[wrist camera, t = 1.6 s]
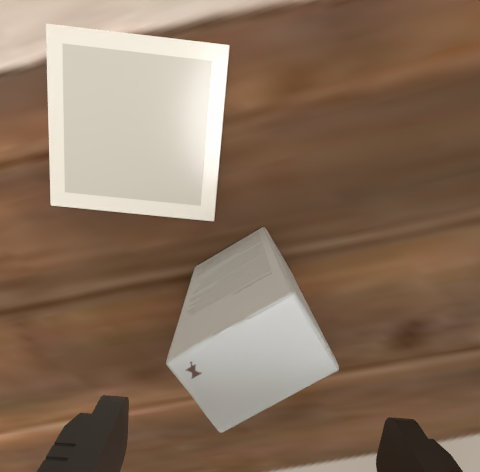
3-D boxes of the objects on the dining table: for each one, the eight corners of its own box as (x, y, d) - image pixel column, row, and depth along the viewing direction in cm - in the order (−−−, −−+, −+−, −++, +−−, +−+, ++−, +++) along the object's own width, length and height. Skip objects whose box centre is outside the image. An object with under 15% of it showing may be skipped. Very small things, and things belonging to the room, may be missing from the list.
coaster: (229, 48, 22) (229, 44, 21) (214, 219, 25) (213, 221, 24) (52, 28, 22) (45, 23, 21) (56, 203, 24) (49, 205, 23)
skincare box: (224, 311, 26) (216, 439, 15) (193, 265, 25) (159, 363, 14) (294, 272, 26) (344, 372, 14) (265, 223, 25) (292, 288, 13)
